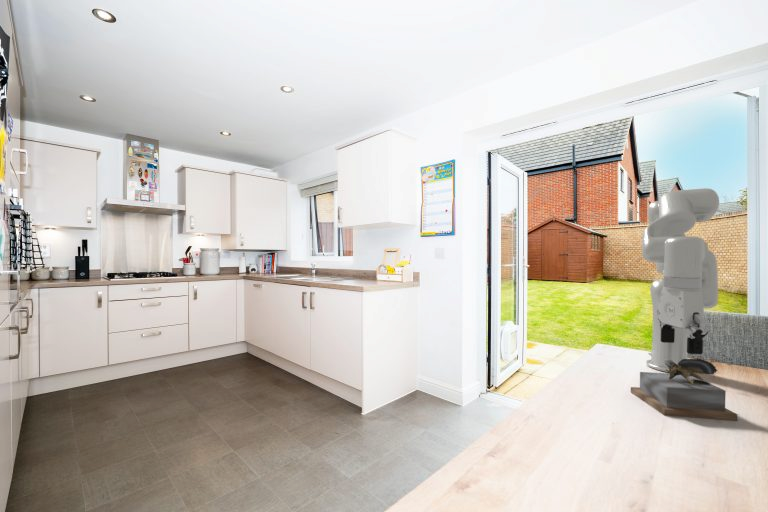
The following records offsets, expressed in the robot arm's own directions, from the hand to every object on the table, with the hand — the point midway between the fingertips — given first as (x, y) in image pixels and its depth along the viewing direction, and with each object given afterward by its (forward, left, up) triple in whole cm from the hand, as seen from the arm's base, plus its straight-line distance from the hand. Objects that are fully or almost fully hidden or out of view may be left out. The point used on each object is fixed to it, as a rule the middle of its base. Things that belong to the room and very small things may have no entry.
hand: (680, 347), depth 90 cm
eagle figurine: (+1, +1, -9) cm, 9 cm away
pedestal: (+1, 0, -15) cm, 15 cm away
